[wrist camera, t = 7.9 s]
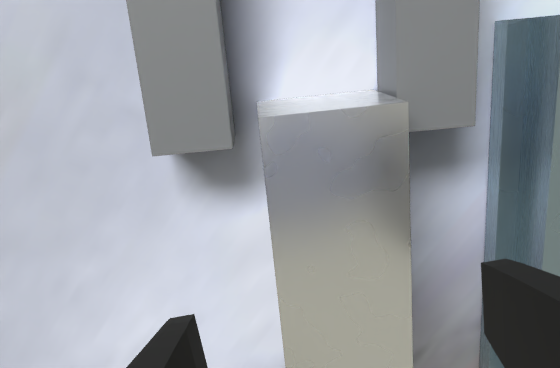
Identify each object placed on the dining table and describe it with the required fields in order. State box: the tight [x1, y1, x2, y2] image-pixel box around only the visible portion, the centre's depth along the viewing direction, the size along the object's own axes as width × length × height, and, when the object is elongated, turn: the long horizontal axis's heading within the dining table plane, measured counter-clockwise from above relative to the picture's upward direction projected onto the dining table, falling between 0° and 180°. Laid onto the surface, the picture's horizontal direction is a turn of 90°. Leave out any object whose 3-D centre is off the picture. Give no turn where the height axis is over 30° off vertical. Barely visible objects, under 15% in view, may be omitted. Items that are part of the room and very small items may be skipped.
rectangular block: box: [257, 90, 413, 368], centre depth 16 cm, size 4×10×4 cm, turn 6°
